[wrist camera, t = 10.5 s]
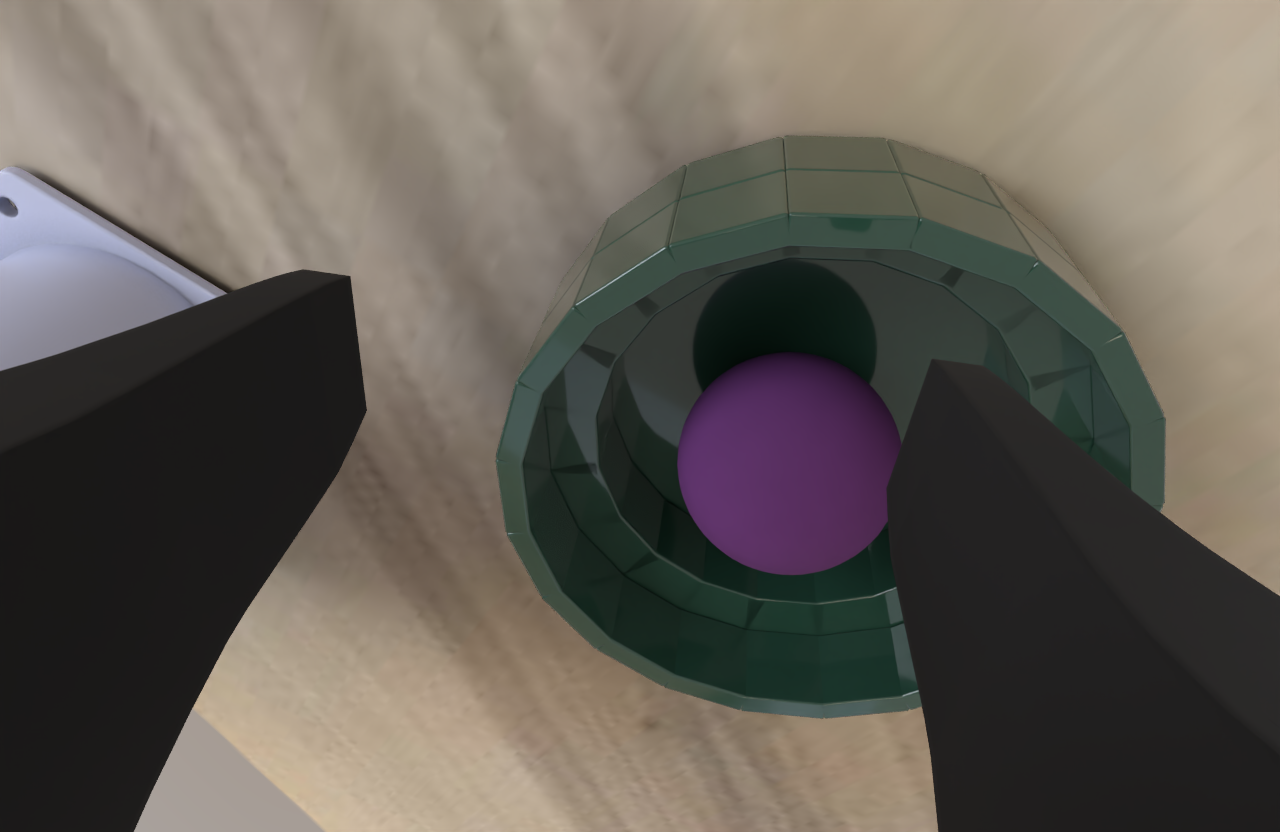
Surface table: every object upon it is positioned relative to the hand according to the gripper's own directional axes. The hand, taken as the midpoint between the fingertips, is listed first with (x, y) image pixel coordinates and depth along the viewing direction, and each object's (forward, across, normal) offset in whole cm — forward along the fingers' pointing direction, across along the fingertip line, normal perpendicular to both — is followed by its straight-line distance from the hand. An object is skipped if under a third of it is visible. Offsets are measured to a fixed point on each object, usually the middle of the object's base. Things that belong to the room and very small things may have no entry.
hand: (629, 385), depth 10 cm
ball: (+6, -3, +6) cm, 9 cm away
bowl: (+9, -4, +6) cm, 12 cm away
